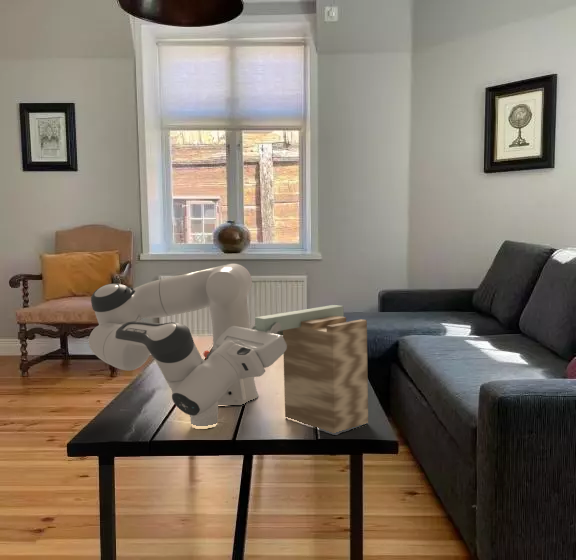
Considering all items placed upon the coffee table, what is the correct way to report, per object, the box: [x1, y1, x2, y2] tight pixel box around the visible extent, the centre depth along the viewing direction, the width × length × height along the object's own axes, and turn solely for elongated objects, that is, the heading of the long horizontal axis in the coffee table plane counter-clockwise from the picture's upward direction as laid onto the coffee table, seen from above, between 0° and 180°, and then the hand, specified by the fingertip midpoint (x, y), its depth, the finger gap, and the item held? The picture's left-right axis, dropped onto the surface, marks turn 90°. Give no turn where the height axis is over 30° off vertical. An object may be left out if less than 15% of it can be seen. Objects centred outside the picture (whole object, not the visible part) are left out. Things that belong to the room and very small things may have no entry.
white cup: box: [189, 400, 219, 426], centre depth 157 cm, size 8×8×10 cm
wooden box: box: [282, 316, 369, 433], centre depth 157 cm, size 12×18×26 cm, turn 41°
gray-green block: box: [254, 304, 345, 332], centre depth 157 cm, size 27×4×4 cm, turn 131°
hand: (272, 323), depth 150 cm, fingers closed on gray-green block, 3 cm apart
